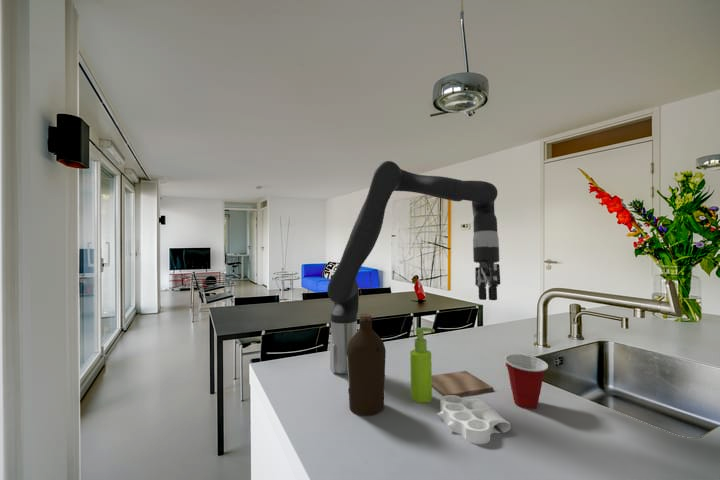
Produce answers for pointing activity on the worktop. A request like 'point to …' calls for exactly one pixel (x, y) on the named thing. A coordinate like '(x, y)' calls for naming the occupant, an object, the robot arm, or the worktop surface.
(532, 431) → the worktop surface
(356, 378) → the olive oil
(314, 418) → the worktop surface
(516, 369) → the plastic cup
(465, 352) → the worktop surface
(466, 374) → the soap board
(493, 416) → the white flat holed block
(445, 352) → the worktop surface
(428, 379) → the soap dispenser
